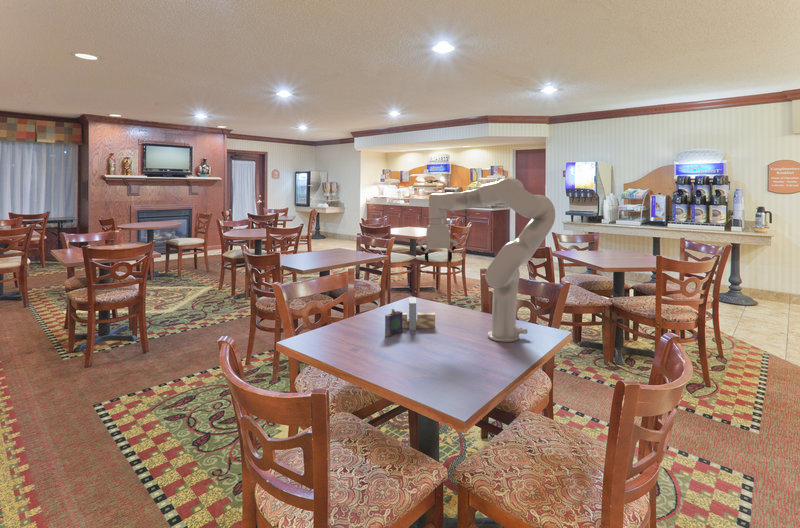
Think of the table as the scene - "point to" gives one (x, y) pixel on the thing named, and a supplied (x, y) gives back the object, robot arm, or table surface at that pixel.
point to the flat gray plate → (412, 313)
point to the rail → (420, 320)
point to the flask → (393, 323)
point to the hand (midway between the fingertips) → (438, 261)
